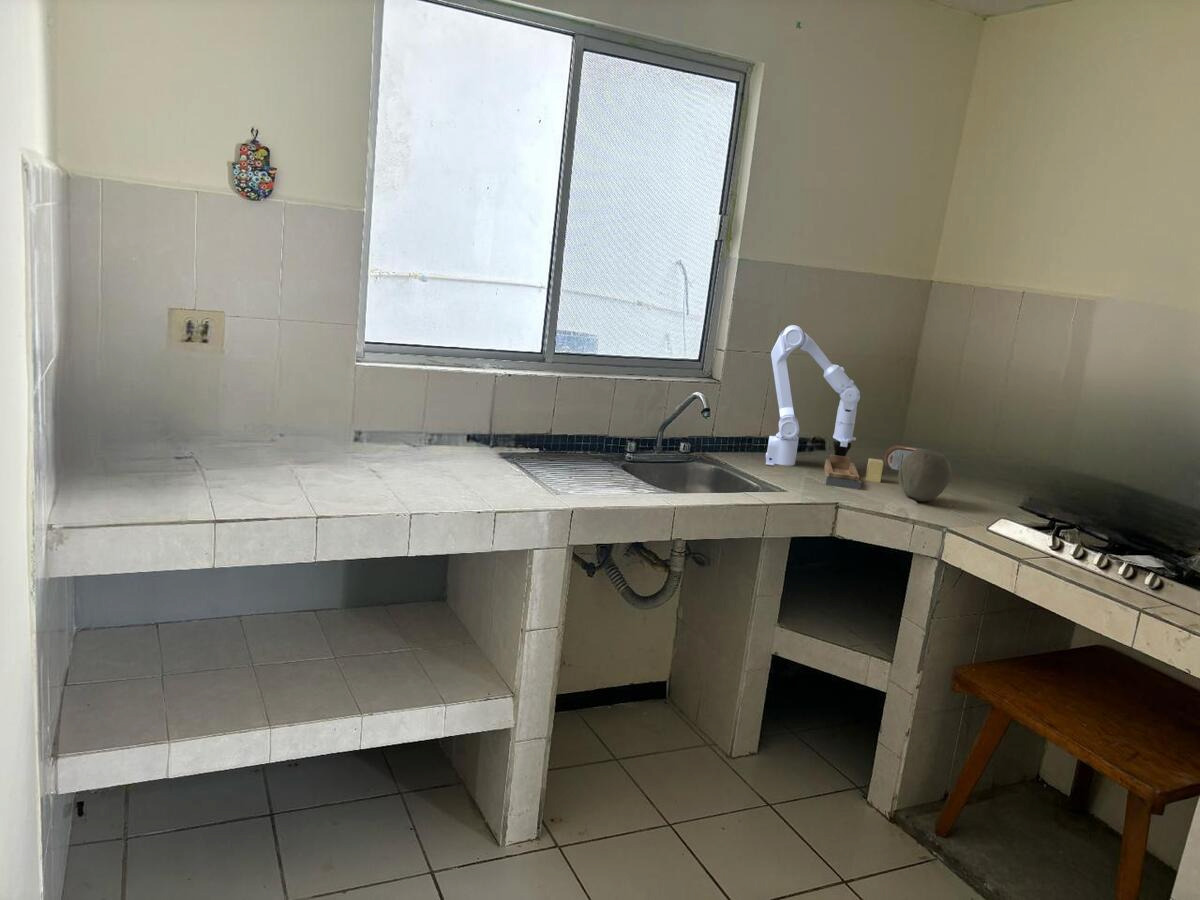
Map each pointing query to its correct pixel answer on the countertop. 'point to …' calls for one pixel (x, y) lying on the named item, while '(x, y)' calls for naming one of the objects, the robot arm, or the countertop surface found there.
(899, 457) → the tin
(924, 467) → the cantaloupe
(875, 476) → the block
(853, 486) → the track
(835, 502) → the countertop surface
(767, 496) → the countertop surface
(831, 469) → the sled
